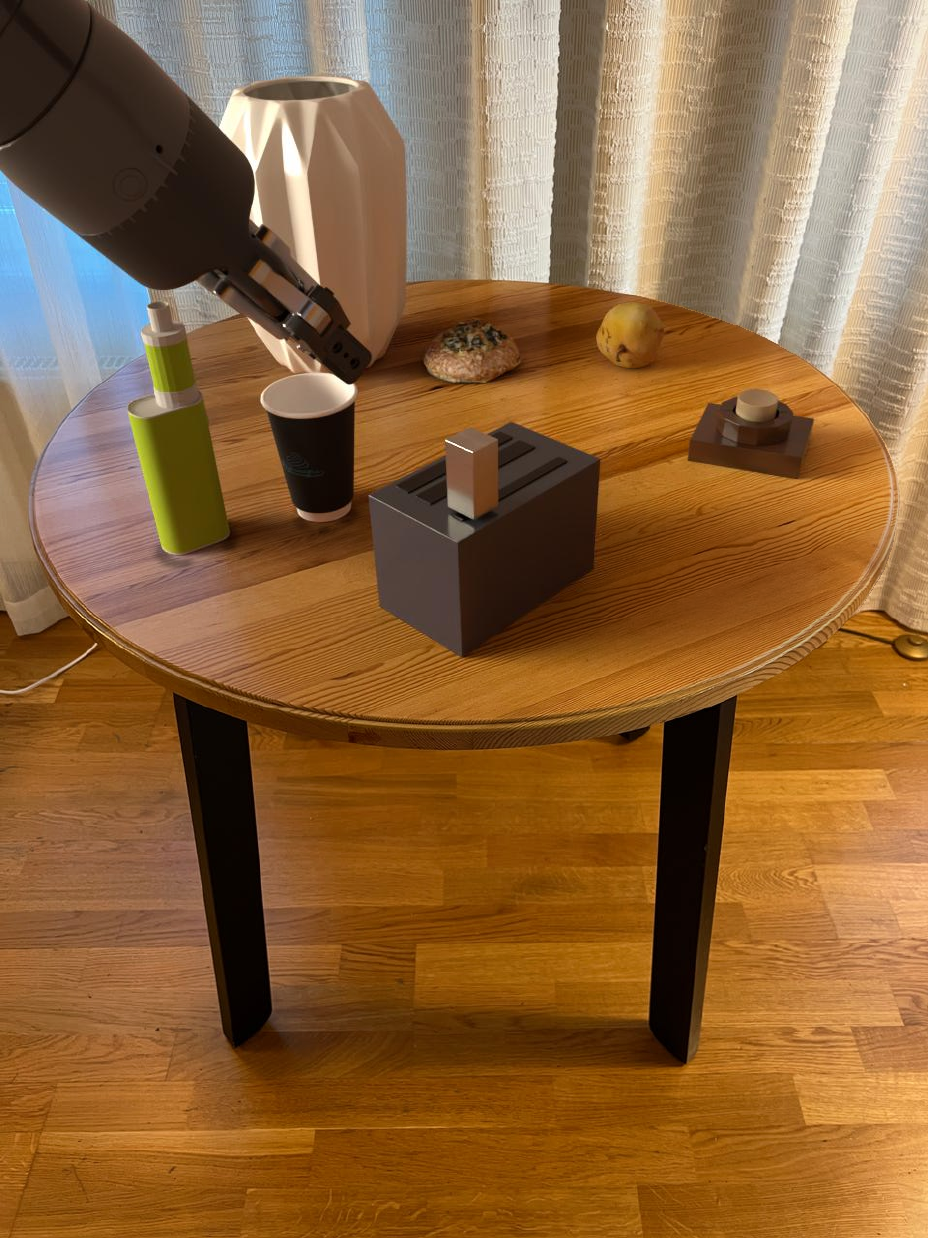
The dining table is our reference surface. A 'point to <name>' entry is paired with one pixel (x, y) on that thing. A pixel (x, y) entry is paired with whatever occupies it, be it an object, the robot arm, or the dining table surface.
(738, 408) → the power button
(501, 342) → the bread roll
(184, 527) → the vape
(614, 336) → the fruit
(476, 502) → the toaster slider
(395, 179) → the vase
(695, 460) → the block
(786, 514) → the dining table surface
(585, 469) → the toaster
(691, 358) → the dining table surface
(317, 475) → the dixie cup
